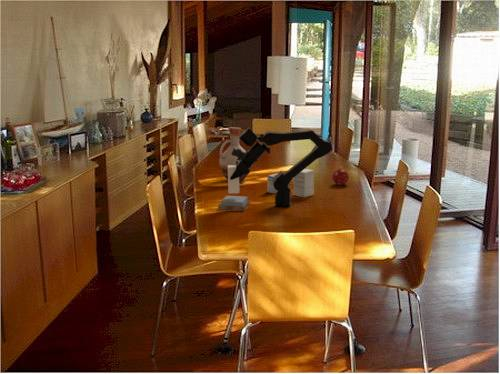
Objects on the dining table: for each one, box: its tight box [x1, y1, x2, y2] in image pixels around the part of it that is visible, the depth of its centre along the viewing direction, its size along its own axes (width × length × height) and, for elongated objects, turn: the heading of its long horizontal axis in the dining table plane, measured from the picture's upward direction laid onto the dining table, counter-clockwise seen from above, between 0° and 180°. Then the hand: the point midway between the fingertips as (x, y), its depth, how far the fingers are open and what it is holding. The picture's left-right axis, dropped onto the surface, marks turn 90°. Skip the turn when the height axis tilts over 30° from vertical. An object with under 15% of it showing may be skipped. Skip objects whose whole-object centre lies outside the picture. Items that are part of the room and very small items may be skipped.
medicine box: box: [267, 172, 279, 194], centre depth 273 cm, size 8×4×9 cm, turn 141°
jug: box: [218, 126, 248, 183], centre depth 293 cm, size 20×18×30 cm
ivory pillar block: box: [227, 165, 240, 194], centre depth 244 cm, size 5×5×12 cm
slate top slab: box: [220, 195, 248, 206], centre depth 246 cm, size 10×10×2 cm
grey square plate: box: [217, 199, 251, 212], centre depth 246 cm, size 12×12×2 cm
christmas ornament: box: [332, 166, 350, 186], centre depth 285 cm, size 9×9×10 cm
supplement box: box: [293, 168, 315, 198], centre depth 264 cm, size 7×7×13 cm
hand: (230, 177), depth 244 cm, fingers closed on ivory pillar block, 5 cm apart
